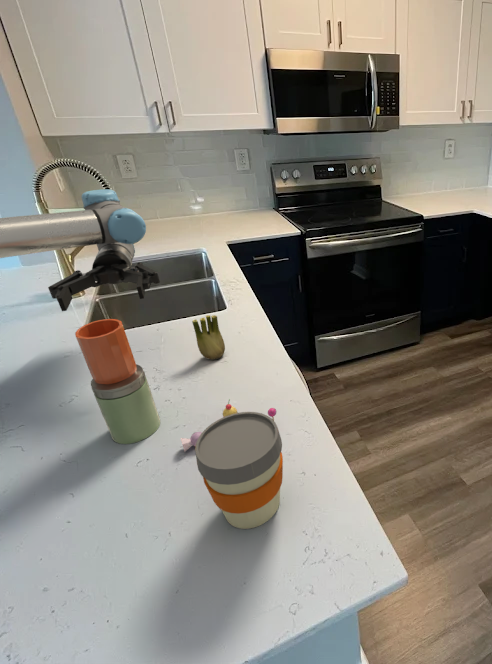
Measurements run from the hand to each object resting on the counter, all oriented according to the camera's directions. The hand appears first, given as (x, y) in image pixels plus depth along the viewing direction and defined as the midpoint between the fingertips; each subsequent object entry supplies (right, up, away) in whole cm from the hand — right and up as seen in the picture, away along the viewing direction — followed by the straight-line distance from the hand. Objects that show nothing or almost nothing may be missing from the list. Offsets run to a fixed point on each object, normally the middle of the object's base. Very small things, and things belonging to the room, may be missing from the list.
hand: (102, 298), depth 84 cm
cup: (+4, -15, -2) cm, 15 cm away
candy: (+25, -27, +2) cm, 37 cm away
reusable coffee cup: (+34, -36, -13) cm, 51 cm away
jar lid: (+5, -16, -3) cm, 17 cm away
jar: (+5, -27, +3) cm, 27 cm away
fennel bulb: (+12, -14, +27) cm, 33 cm away
